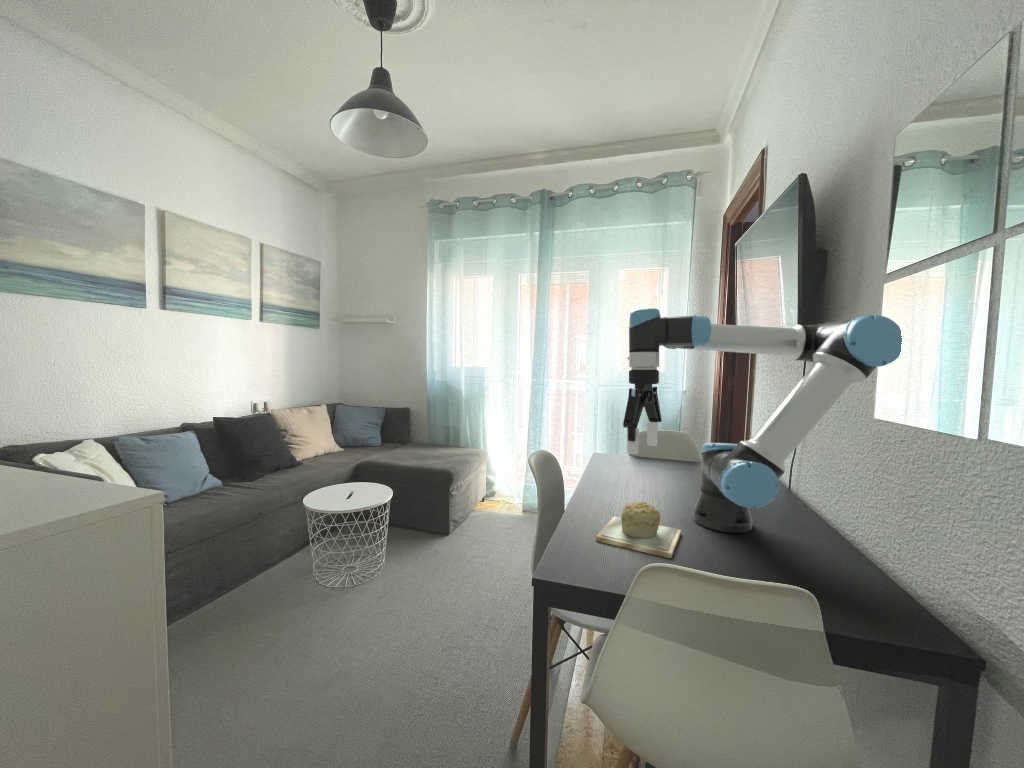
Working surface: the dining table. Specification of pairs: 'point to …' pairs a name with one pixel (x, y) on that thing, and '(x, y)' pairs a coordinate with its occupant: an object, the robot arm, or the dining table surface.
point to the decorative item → (640, 520)
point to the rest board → (641, 539)
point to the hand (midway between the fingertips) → (643, 449)
